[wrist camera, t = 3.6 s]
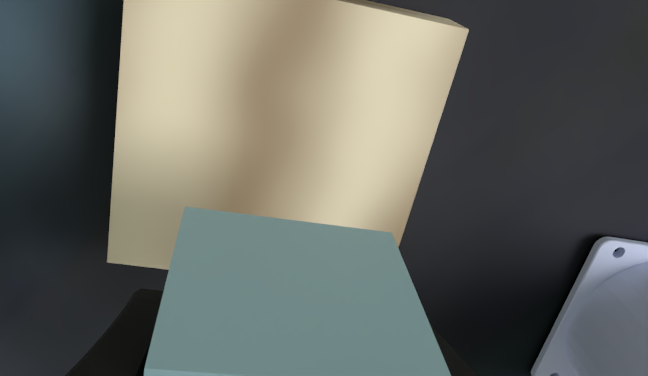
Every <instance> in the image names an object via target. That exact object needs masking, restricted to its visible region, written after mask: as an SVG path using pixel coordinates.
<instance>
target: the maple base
mask: <svg viewBox="0 0 648 376" xmlns="http://www.w3.org/2000/svg"><path fill="white" fill-rule="evenodd" d="M468 31H469V29H467V28H465V27H463V26H461V25H459V24H458V23H456V22H454V21H452V20H450V19H447V18H443V17H438V16H434V15H429V14H425V13H420V12H416V11H411V10H407V9H403V8H398V7H394V6H389V5H385V4H380V3H376V2H371V1H367V0H124V4H123V20H122V36H121V51H120V67H119V83H118V98H117V114H116V130H115V145H114V161H113V177H112V192H111V208H110V223H109V239H108V255H107V262H108V263H116V264H125V265H133V266H142V267H150V268H159V269H167V270H169V267H170V263H171V259H172V255H173V251H174V247H175V243H176V239H177V235H178V231H179V227H180V223H181V219H182V215H183V211H184V207H193V208H201V209H208V210H216V211H224V212H232V213H240V214H248V215H256V216H264V217H272V218H280V219H288V220H296V221H304V222H312V223H320V224H328V225H336V226H344V227H352V228H360V229H368V230H376V231H384V232H392V235H393V237H394V239H395V242H396V244H397V247H399V244H400V241H401V238H402V235H403V232H404V229H405V226H406V223H407V220H408V216H409V213H410V210H411V207H412V204H413V201H414V198H415V195H416V192H417V189H418V186H419V182H420V179H421V176H422V173H423V170H424V167H425V164H426V161H427V158H428V155H429V152H430V149H431V145H432V142H433V139H434V136H435V133H436V130H437V127H438V124H439V121H440V118H441V115H442V111H443V108H444V105H445V102H446V99H447V96H448V93H449V90H450V87H451V84H452V81H453V78H454V74H455V71H456V68H457V65H458V62H459V59H460V56H461V53H462V50H463V47H464V44H465V41H466V37H467V34H468Z"/></svg>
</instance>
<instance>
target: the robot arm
mask: <svg viewBox="0 0 648 376" xmlns="http://www.w3.org/2000/svg"><path fill="white" fill-rule="evenodd" d="M617 248H619V249H618V250H617V251H616V252H614V251H615V249H617ZM613 252H614V253H613ZM163 292H164V291H158V290H148V289H139V290H138V291H136V292H135V293H134V294H133V296H132V297H131V299H130V301H129V302H128V303H127V305H126V306H125V308H124V309H123V310H122V312H121V313H120V314H119V316H118V317H117V318H116V320H115V321H114V322H113V323H112V325H111V326H110V327H109V328H108V330H107V331H106V332H105V333H104V334H103V335H102V337H101V338H100V339H99V340H98V341H97V342H96V343H95V345H94V346H93V347H92V348H91V349H90V350H89V351H88V353H87V354H86V355H85V356H84V357H83V358H82V359H81V360H80V361H79V362H78V363H77V364H76V365H75V366H74V367H73V368H72V369H71V370H70V371H69V372H68V373H67V374H66V375H65V376H144V368H145V364H146V360H147V356H148V352H149V348H150V344H151V340H152V336H153V332H154V328H155V324H156V320H157V316H158V312H159V308H160V304H161V300H162V296H163ZM429 324H430V323H429ZM430 326H431V328H432V331H433V333H434V336H435V338H436V341H437V343H438V345H439V348H440V350H441V353H442V355H443V357H444V360H445V362H446V365H447V367H448V369H449V372H450V374H451V376H478V375H477V374H476V373H475V372H474V371H473V370H472V369H471V368H470V367H469V366H468V365H467V364H466V363H465V361H464V360H463V359H462V358H461V357H460V356H459V355H458V354H457V353H456V352H455V350H454V349H453V348H452V347H451V346H450V345H449V344H448V343H447V342H446V341H445V339H444V338H443V337H442V336H441V335H440V334H439V333H438V332H437V331H436V330H435V328H434V327H433V326H432V325H431V324H430ZM531 376H648V242H641V241H635V240H628V239H622V238H615V237H603V238H600V239H599V240H597V241H596V242H595V244H594V245H593V247H592V249H591V251H590V253H589V255H588V257H587V259H586V261H585V263H584V265H583V267H582V269H581V271H580V273H579V275H578V277H577V279H576V281H575V283H574V285H573V287H572V289H571V291H570V293H569V295H568V297H567V299H566V301H565V303H564V305H563V307H562V309H561V311H560V313H559V315H558V317H557V319H556V321H555V323H554V325H553V327H552V329H551V331H550V334H549V336H548V338H547V340H546V342H545V344H544V346H543V348H542V350H541V352H540V354H539V356H538V358H537V360H536V362H535V364H534V366H533V368H532V370H531Z"/></svg>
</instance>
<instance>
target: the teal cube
mask: <svg viewBox="0 0 648 376" xmlns="http://www.w3.org/2000/svg"><path fill="white" fill-rule="evenodd" d="M144 376H451V374H450V372H449V369H448V367H447V365H446V362H445V360H444V357H443V355H442V353H441V350H440V348H439V345H438V343H437V341H436V338H435V336H434V333H433V331H432V328H431V326H430V324H429V321H428V319H427V316H426V314H425V312H424V309H423V307H422V304H421V302H420V300H419V297H418V295H417V292H416V290H415V288H414V285H413V283H412V280H411V278H410V275H409V273H408V271H407V268H406V266H405V263H404V261H403V259H402V256H401V254H400V251H399V249H398V247H397V244H396V242H395V239H394V237H393V235H392V232H384V231H376V230H368V229H360V228H352V227H344V226H336V225H328V224H320V223H312V222H304V221H296V220H288V219H280V218H272V217H264V216H256V215H248V214H240V213H232V212H224V211H216V210H208V209H201V208H193V207H184V211H183V215H182V219H181V223H180V227H179V231H178V235H177V239H176V243H175V247H174V251H173V255H172V259H171V263H170V267H169V271H168V275H167V279H166V283H165V288H164V292H163V296H162V300H161V304H160V308H159V312H158V316H157V320H156V324H155V328H154V332H153V336H152V340H151V344H150V348H149V352H148V356H147V360H146V364H145V368H144Z"/></svg>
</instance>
